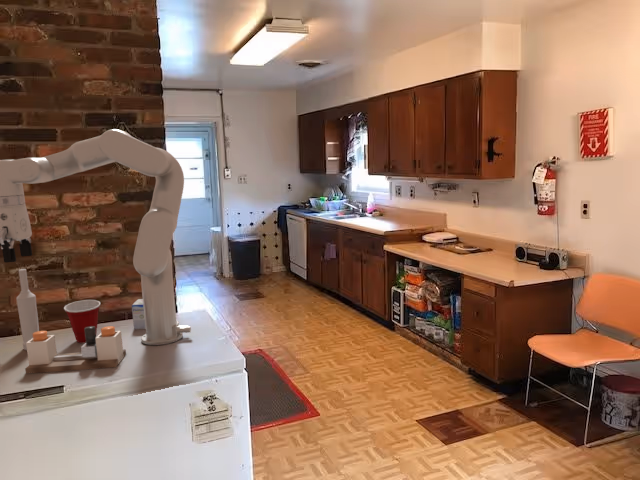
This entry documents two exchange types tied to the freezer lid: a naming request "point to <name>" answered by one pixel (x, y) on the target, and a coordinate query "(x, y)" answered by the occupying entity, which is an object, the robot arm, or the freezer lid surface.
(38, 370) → the rail board
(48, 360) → the pair of ball holders
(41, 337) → the gauge button
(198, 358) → the freezer lid surface
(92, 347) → the carriage
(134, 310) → the medicine box
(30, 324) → the bottle
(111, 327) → the ball
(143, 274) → the robot arm
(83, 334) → the plastic cup
